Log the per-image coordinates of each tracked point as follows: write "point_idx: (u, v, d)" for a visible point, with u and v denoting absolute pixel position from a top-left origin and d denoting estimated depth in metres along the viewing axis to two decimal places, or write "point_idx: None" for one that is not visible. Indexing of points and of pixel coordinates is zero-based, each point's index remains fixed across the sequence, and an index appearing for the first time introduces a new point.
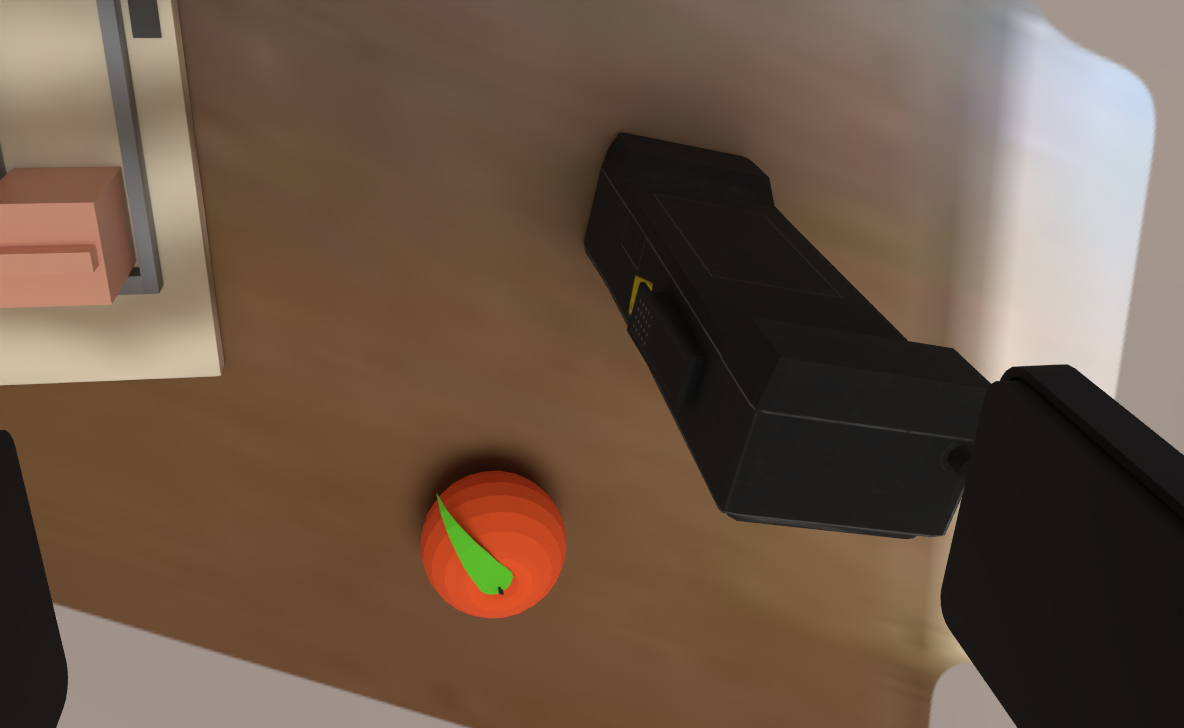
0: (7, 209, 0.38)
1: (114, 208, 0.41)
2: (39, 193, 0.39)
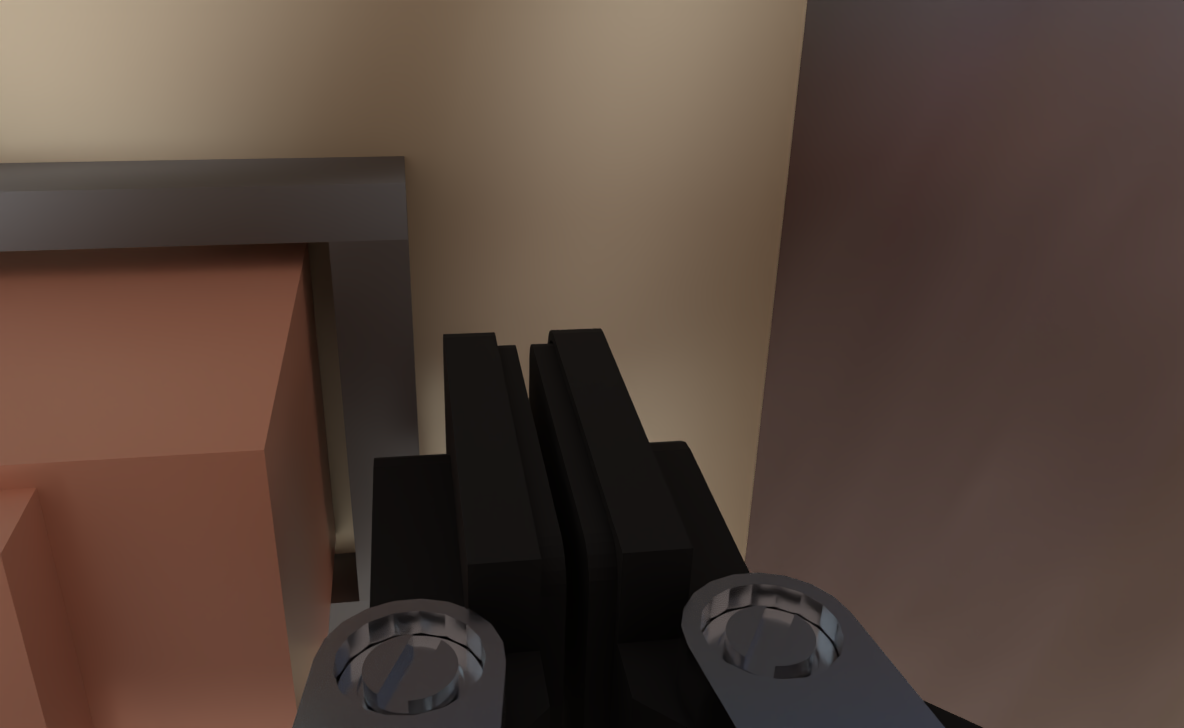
0: None
1: None
2: None
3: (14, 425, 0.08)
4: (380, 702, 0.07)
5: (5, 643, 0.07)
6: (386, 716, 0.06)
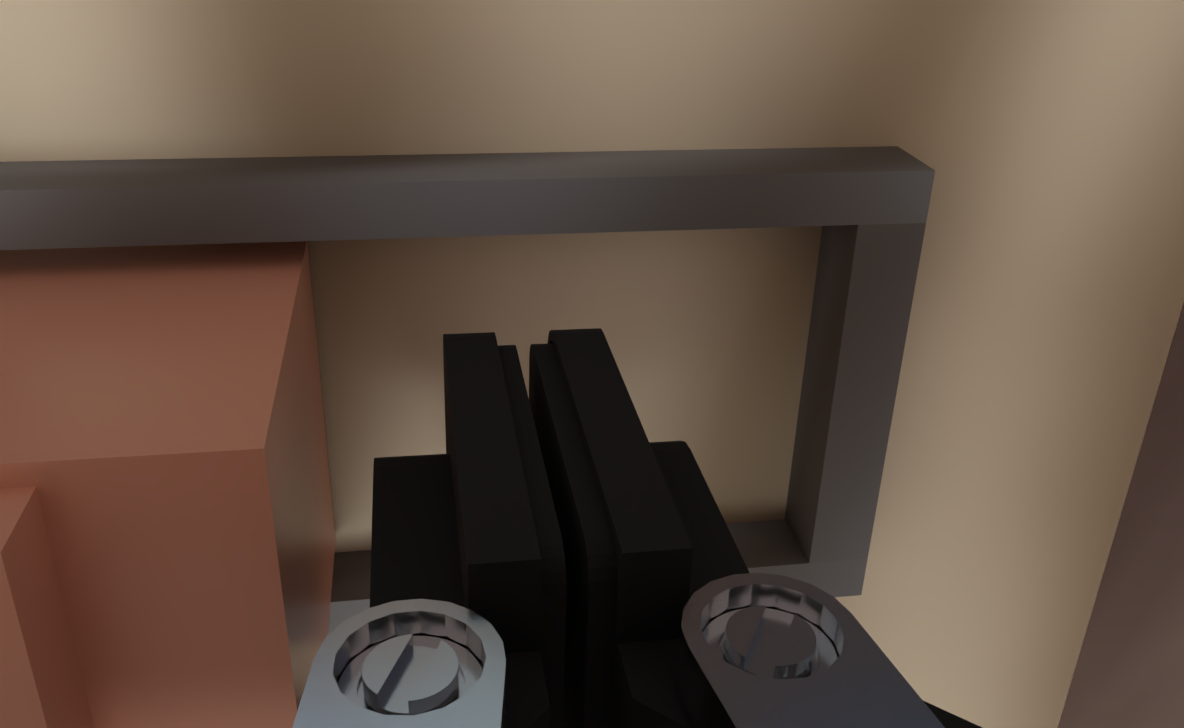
0: None
1: None
2: None
3: (14, 423, 0.08)
4: (380, 702, 0.07)
5: (5, 643, 0.07)
6: (386, 716, 0.06)
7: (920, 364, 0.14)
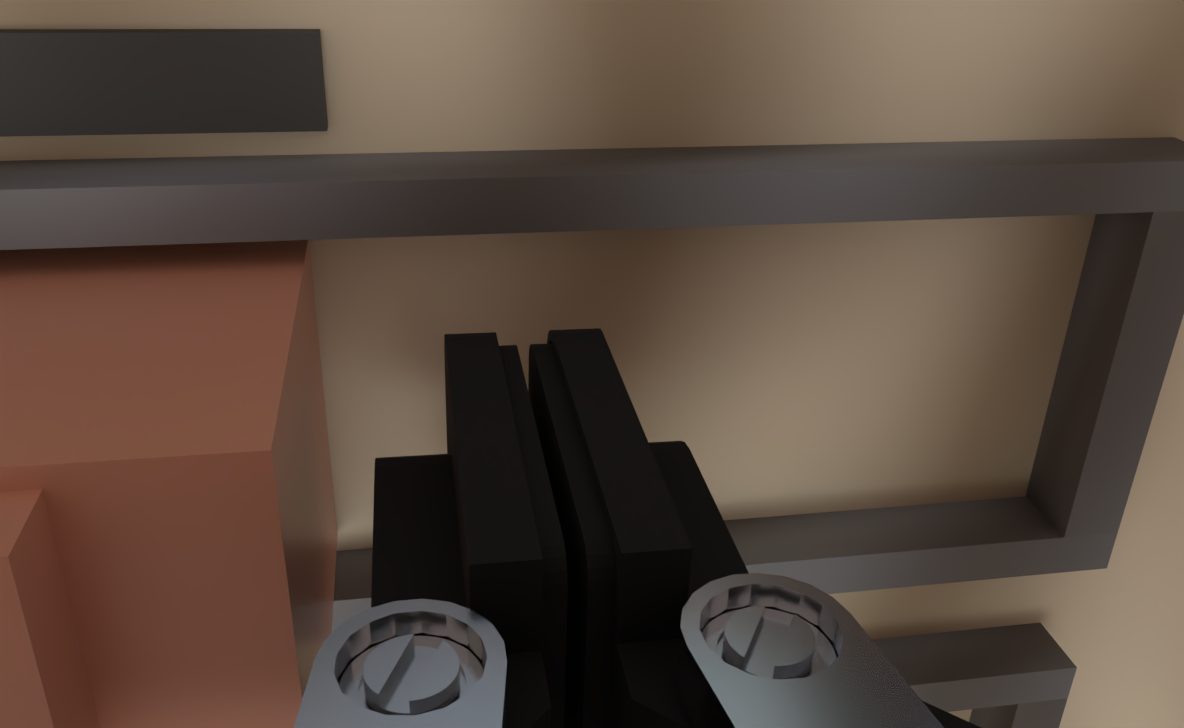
0: None
1: None
2: None
3: (18, 426, 0.08)
4: (381, 702, 0.07)
5: (13, 645, 0.07)
6: (387, 716, 0.06)
7: None
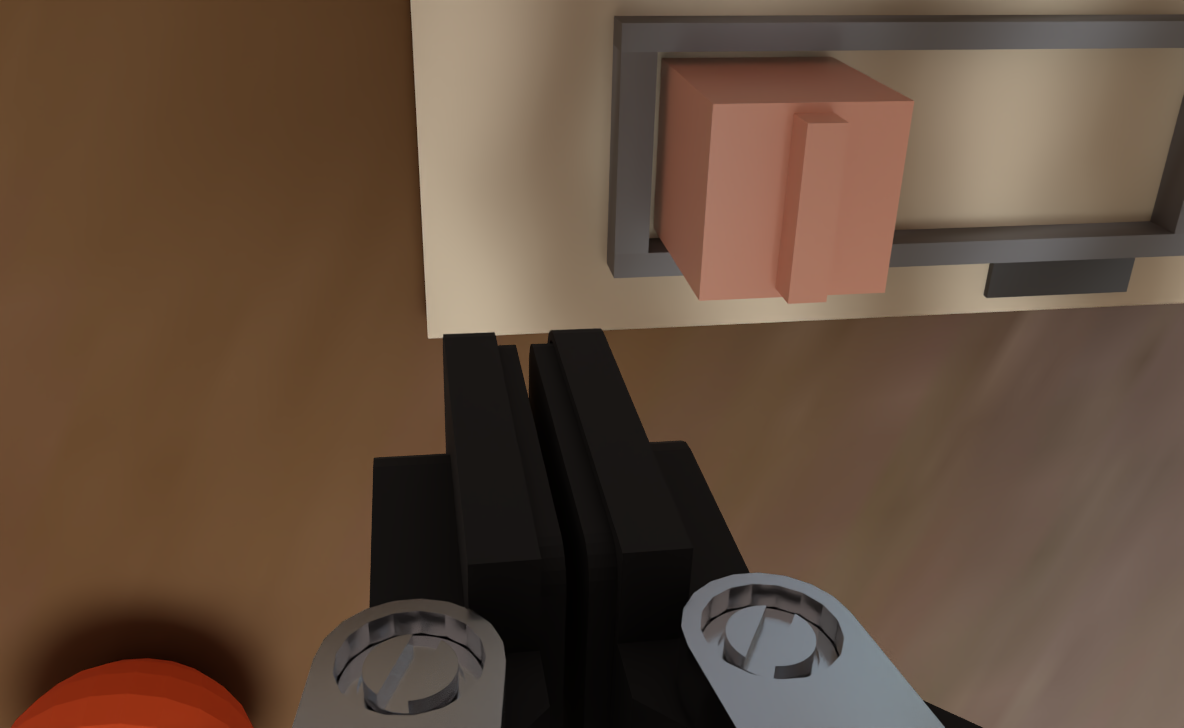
0: (896, 155, 0.21)
1: None
2: None
3: None
4: (380, 702, 0.07)
5: None
6: (386, 716, 0.06)
7: None
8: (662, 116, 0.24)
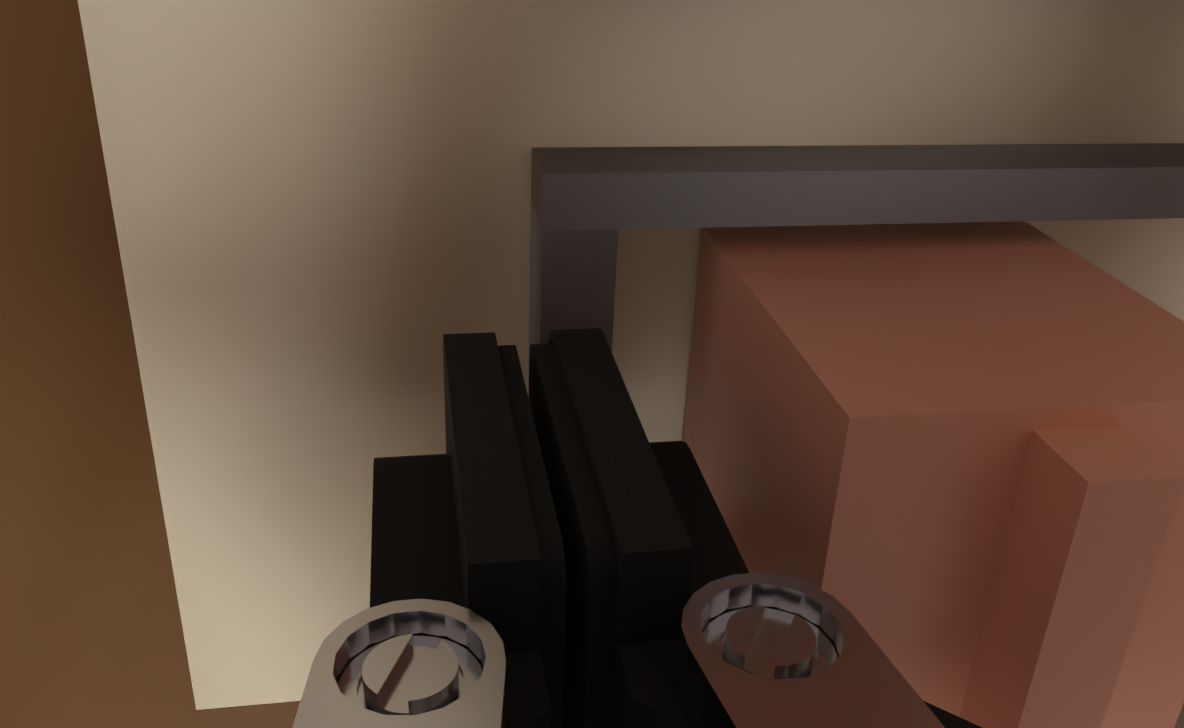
0: None
1: None
2: None
3: None
4: (381, 702, 0.07)
5: None
6: (387, 716, 0.06)
7: None
8: (701, 336, 0.13)
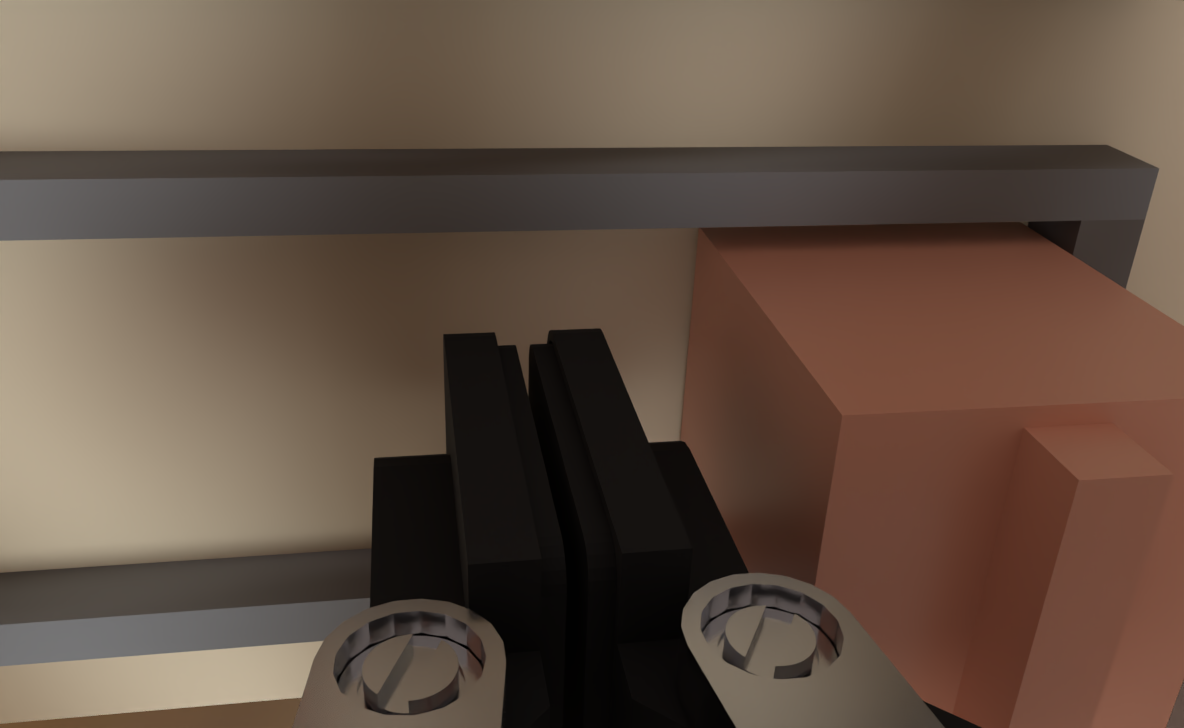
0: None
1: None
2: None
3: None
4: (380, 702, 0.07)
5: None
6: (386, 716, 0.06)
7: None
8: (697, 335, 0.13)
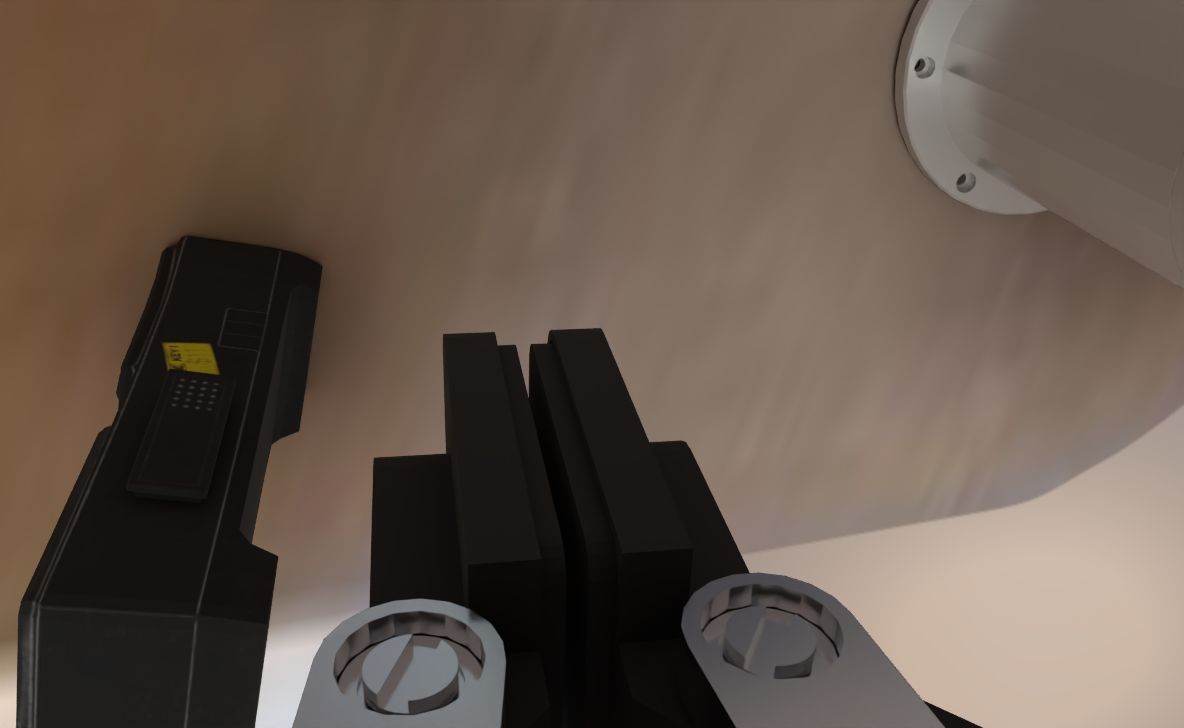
0: None
1: None
2: None
3: None
4: (380, 702, 0.07)
5: None
6: (386, 716, 0.06)
7: None
8: None
